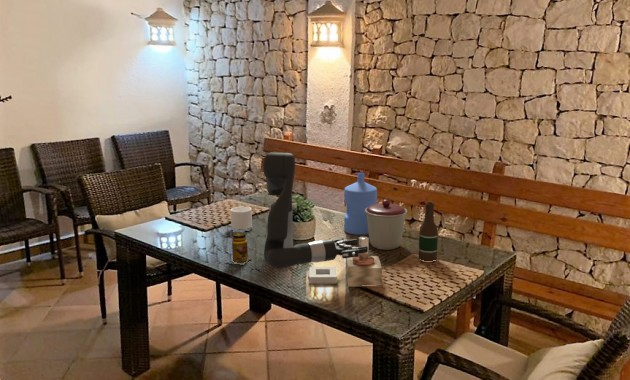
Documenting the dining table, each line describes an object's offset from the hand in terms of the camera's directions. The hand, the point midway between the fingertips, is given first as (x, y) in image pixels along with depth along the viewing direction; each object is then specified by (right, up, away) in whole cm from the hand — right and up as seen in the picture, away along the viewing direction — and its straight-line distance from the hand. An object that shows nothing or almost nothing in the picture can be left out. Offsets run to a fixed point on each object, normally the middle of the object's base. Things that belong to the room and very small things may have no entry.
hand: (362, 245), depth 195 cm
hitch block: (+1, -13, +3) cm, 14 cm away
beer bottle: (+29, -8, +23) cm, 38 cm away
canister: (+14, -5, +39) cm, 42 cm away
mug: (-52, +1, +66) cm, 84 cm away
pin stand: (-14, -13, +5) cm, 20 cm away
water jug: (+5, +1, +62) cm, 62 cm away
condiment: (-48, -9, +23) cm, 54 cm away
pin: (+1, -12, +3) cm, 13 cm away
